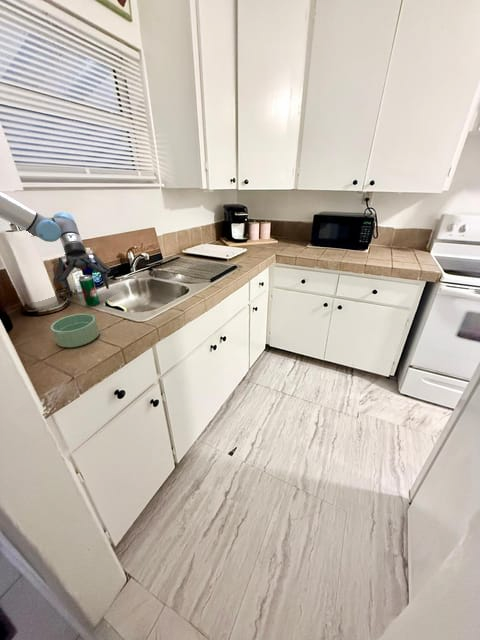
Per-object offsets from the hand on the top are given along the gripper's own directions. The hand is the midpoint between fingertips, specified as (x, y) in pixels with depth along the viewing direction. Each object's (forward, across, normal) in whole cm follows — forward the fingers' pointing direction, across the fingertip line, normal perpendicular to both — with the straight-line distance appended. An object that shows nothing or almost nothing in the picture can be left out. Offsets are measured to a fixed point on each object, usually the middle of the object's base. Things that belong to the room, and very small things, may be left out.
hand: (89, 291), depth 106 cm
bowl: (+23, -9, -14) cm, 28 cm away
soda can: (+4, 0, +5) cm, 6 cm away
